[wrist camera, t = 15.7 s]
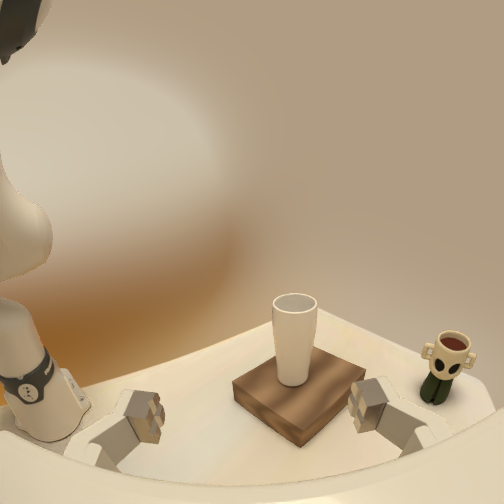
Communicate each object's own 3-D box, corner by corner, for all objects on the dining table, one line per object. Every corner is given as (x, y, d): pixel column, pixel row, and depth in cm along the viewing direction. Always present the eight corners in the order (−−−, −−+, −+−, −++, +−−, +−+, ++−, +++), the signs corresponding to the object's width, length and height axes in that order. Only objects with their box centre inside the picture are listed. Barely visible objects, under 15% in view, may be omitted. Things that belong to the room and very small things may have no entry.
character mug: (404, 399, 40) (424, 344, 37) (413, 377, 45) (430, 324, 42) (453, 412, 33) (480, 357, 30) (458, 389, 38) (480, 335, 35)
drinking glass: (296, 361, 49) (298, 289, 45) (319, 380, 43) (327, 304, 39) (265, 374, 46) (263, 300, 42) (287, 396, 40) (289, 318, 36)
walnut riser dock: (234, 399, 46) (232, 381, 45) (299, 358, 57) (300, 339, 56) (300, 447, 34) (303, 430, 33) (361, 388, 46) (366, 369, 44)
